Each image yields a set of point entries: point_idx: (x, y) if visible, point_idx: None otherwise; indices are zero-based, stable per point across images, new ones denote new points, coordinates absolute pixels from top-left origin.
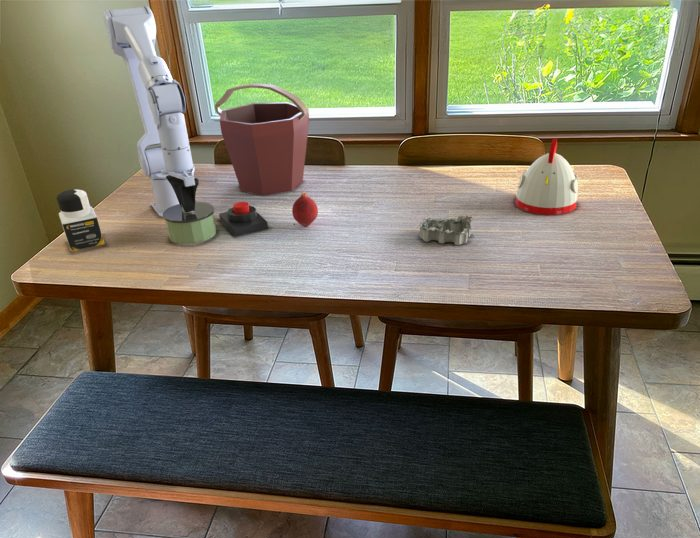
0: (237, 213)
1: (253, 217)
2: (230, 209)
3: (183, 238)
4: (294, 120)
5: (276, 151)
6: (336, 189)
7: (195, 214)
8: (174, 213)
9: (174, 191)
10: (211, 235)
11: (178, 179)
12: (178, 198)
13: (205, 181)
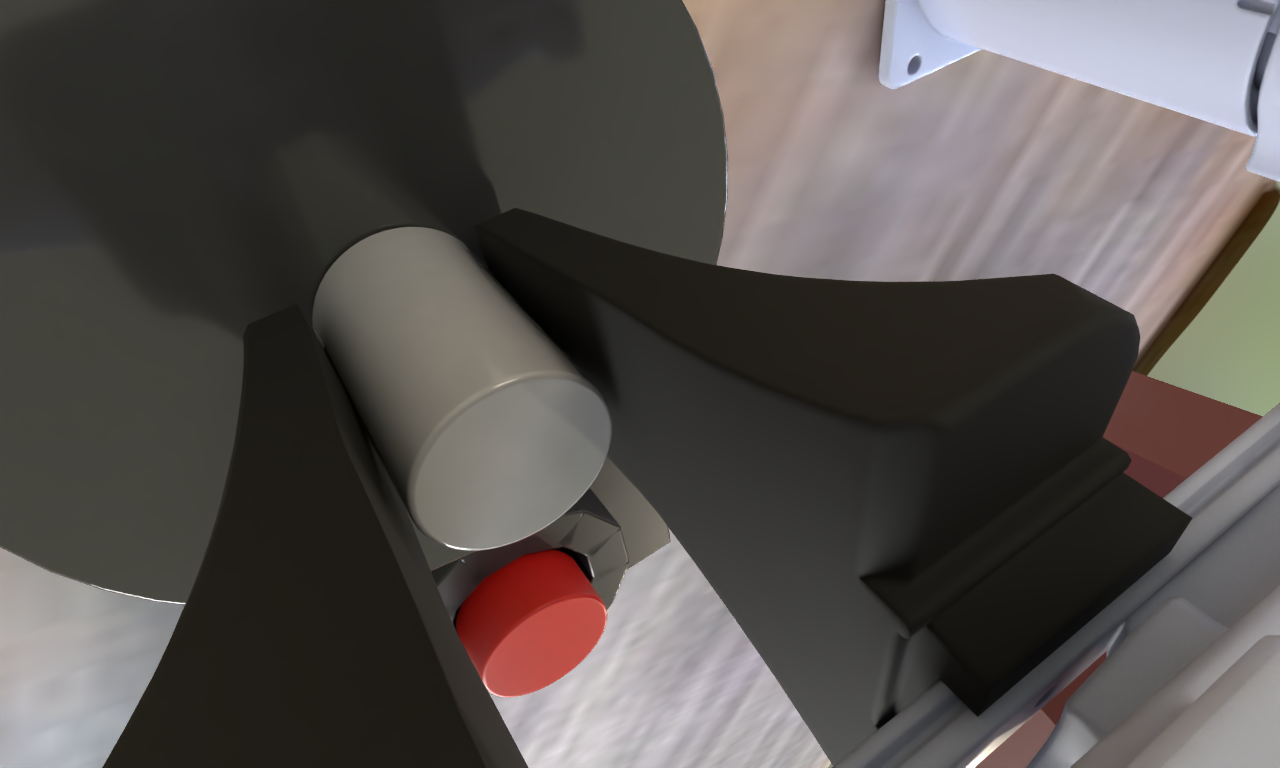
0: (470, 604)
1: None
2: (575, 526)
3: None
4: None
5: (990, 765)
6: (740, 723)
7: (221, 444)
8: (338, 81)
9: (715, 269)
10: None
11: (824, 592)
12: (557, 284)
13: (1182, 136)
